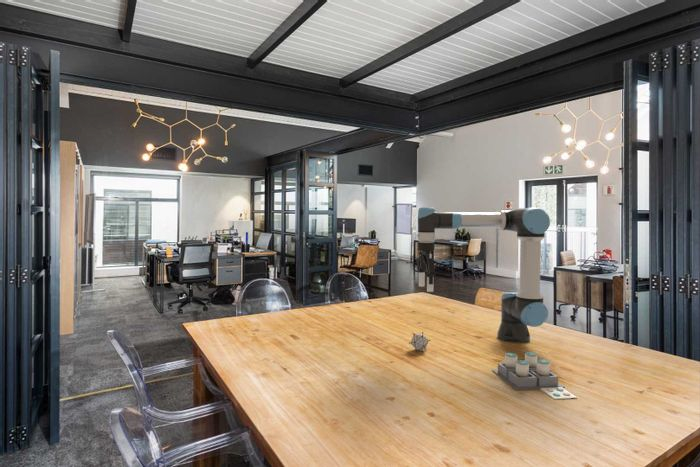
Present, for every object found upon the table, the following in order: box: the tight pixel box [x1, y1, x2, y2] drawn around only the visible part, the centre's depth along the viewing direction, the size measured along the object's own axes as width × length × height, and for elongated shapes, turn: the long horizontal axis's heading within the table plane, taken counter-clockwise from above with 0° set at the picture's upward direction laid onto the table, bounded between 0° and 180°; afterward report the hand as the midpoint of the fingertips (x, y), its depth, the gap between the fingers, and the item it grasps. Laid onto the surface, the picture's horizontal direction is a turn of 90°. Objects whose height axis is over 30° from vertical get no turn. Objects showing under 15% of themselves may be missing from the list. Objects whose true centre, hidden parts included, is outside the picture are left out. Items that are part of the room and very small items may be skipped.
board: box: [492, 362, 566, 391], centre depth 149 cm, size 18×18×4 cm
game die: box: [408, 331, 431, 353], centre depth 181 cm, size 9×8×10 cm
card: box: [539, 387, 578, 400], centre depth 137 cm, size 8×8×1 cm
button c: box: [536, 358, 551, 376], centre depth 145 cm, size 4×4×5 cm
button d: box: [524, 351, 538, 368], centre depth 153 cm, size 4×4×5 cm
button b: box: [504, 352, 518, 369], centre depth 153 cm, size 4×4×5 cm
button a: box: [516, 359, 529, 377], centre depth 145 cm, size 4×4×5 cm
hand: (425, 289), depth 181 cm, fingers open, 13 cm apart
